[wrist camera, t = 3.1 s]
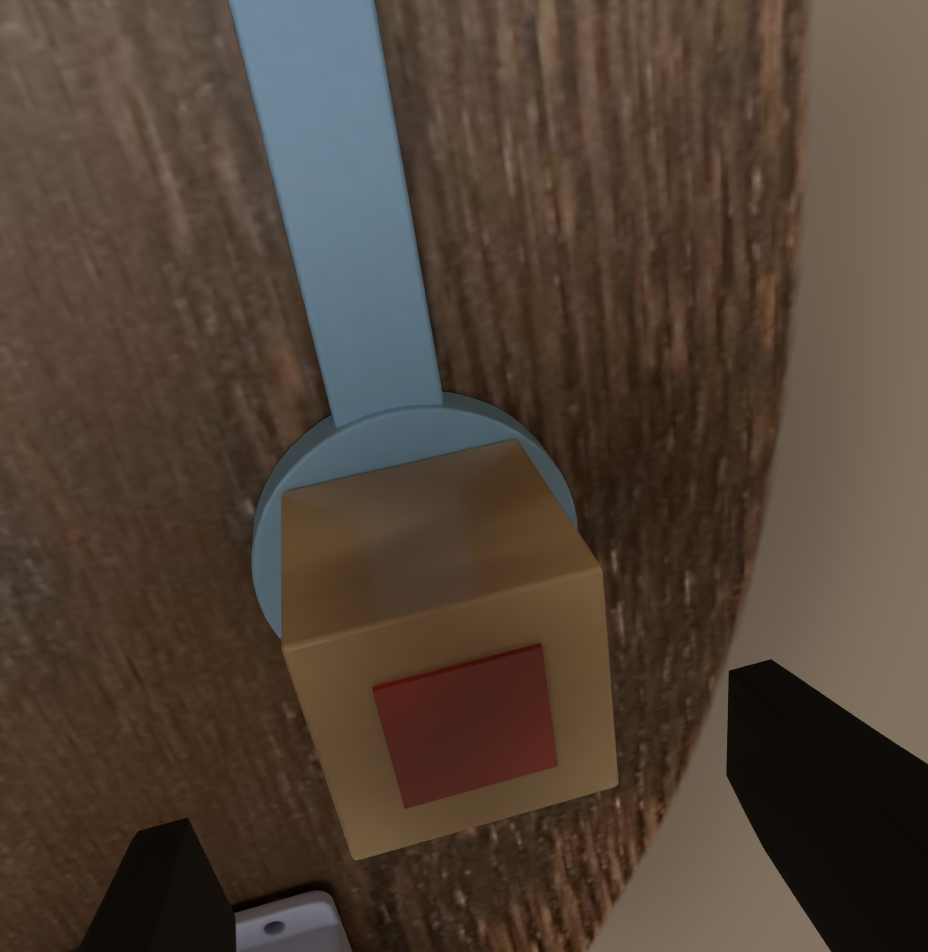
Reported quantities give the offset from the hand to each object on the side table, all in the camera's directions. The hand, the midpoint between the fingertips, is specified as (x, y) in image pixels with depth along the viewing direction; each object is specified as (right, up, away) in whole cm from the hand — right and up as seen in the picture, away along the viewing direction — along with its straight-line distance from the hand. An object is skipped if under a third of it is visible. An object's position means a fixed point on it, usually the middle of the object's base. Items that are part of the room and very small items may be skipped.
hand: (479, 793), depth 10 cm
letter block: (-1, +2, +5) cm, 6 cm away
